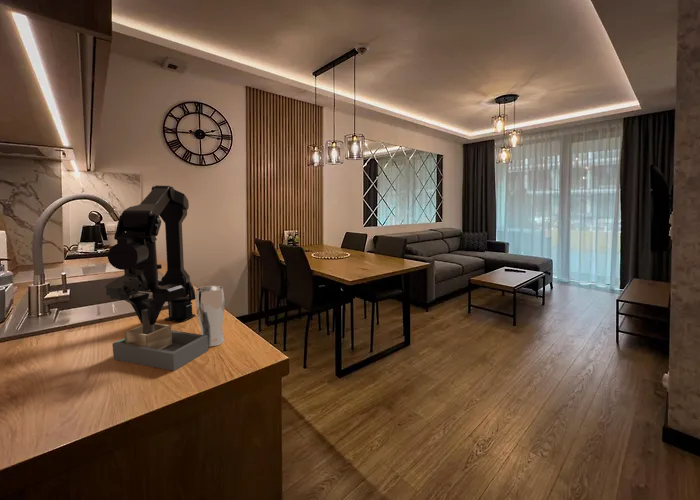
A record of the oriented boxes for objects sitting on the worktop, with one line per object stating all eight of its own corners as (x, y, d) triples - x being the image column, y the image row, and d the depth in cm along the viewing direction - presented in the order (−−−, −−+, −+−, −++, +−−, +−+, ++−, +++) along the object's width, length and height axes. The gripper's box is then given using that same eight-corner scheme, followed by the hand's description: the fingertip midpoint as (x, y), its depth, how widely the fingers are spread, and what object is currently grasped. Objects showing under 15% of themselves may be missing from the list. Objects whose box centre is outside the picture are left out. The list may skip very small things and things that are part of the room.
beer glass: (216, 348, 86) (213, 292, 84) (192, 346, 87) (189, 290, 85) (231, 338, 93) (229, 285, 91) (208, 336, 94) (206, 284, 92)
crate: (126, 351, 81) (122, 313, 80) (150, 340, 88) (148, 304, 86) (148, 355, 79) (145, 316, 78) (172, 344, 86) (169, 307, 84)
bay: (113, 359, 80) (112, 343, 79) (152, 341, 90) (151, 327, 90) (174, 370, 75) (173, 354, 74) (208, 350, 85) (207, 335, 84)
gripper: (79, 265, 75) (86, 331, 77) (144, 270, 70) (149, 341, 72) (125, 257, 86) (130, 316, 88) (184, 262, 81) (188, 323, 83)
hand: (148, 323), depth 82 cm, fingers closed on crate, 2 cm apart
